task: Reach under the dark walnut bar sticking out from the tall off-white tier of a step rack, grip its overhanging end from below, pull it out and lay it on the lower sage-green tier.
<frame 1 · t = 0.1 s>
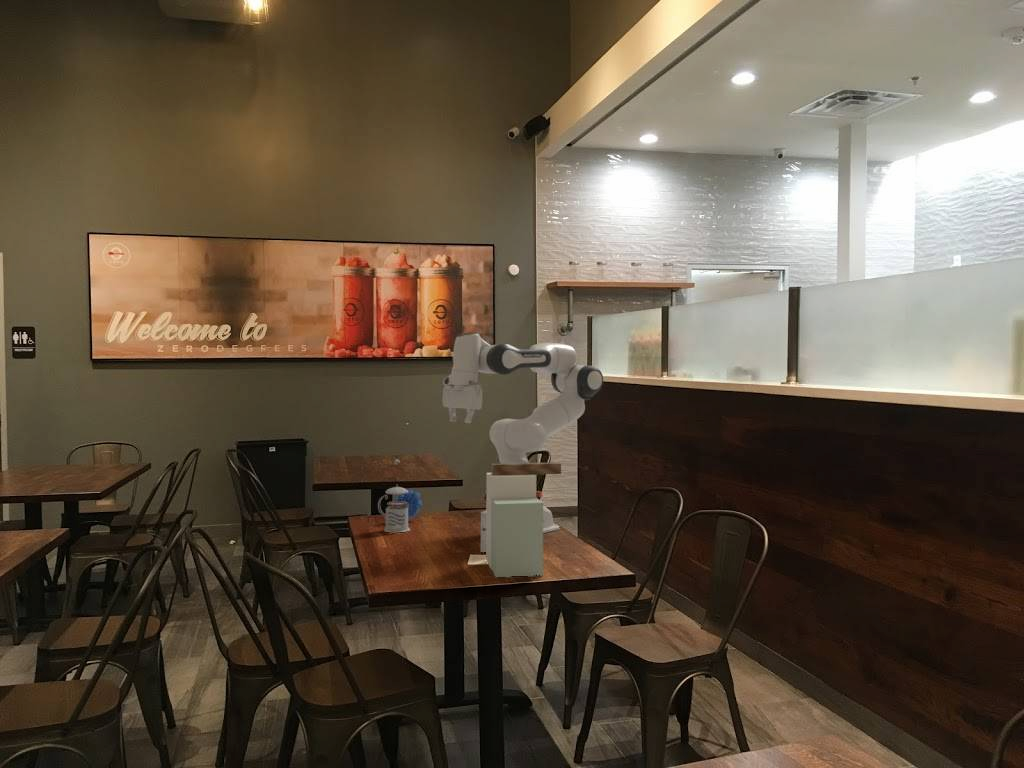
hand: (460, 422, 255), 39 cm above the table, tool pointing down, fingers open, 8 cm apart
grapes: (406, 521, 287), on the table
step rack: (513, 568, 218), on the table
french press: (394, 531, 270), on the table
supplement box: (495, 552, 239), on the table
walnut bar: (526, 474, 223), point 26 cm above the table, touching step rack
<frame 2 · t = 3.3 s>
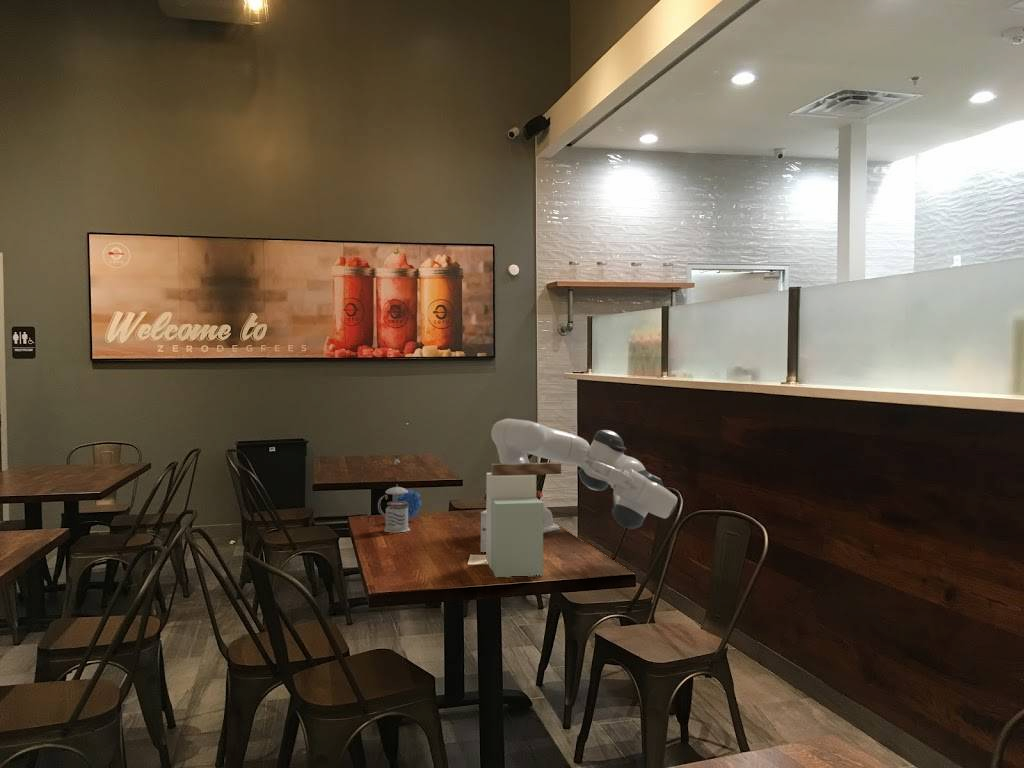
hand: (588, 462, 226), 29 cm above the table, tool pointing upward, fingers open, 8 cm apart
nothing on the table moved.
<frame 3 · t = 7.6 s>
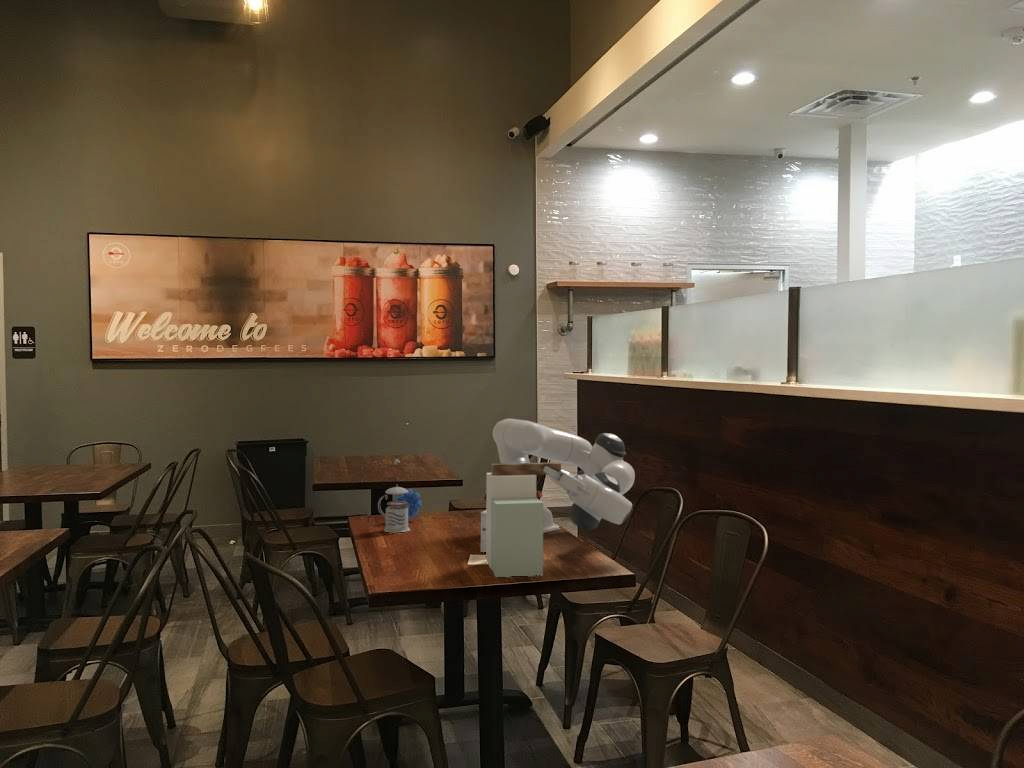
hand: (542, 467, 224), 28 cm above the table, tool pointing upward, fingers closed on walnut bar, 3 cm apart
walnut bar: (526, 473, 223), point 26 cm above the table, touching gripper
everything else where it was.
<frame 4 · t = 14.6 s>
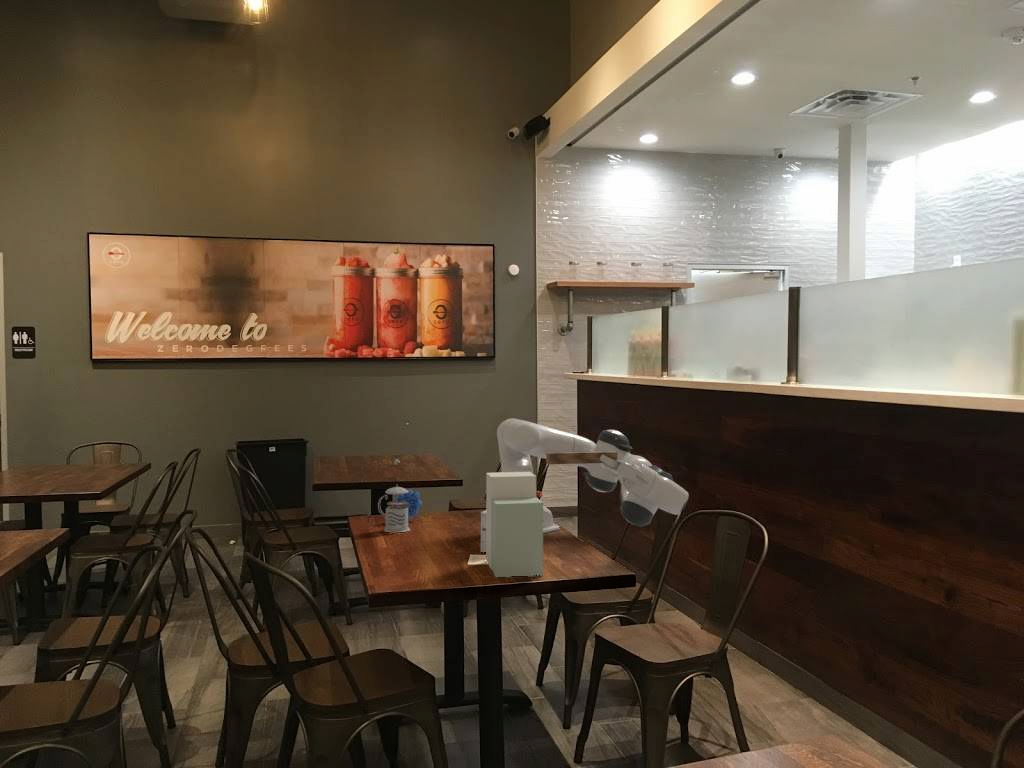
hand: (597, 455, 219), 32 cm above the table, tool pointing upward, fingers closed on walnut bar, 3 cm apart
walnut bar: (581, 462, 218), point 30 cm above the table, touching gripper
everything else where it was.
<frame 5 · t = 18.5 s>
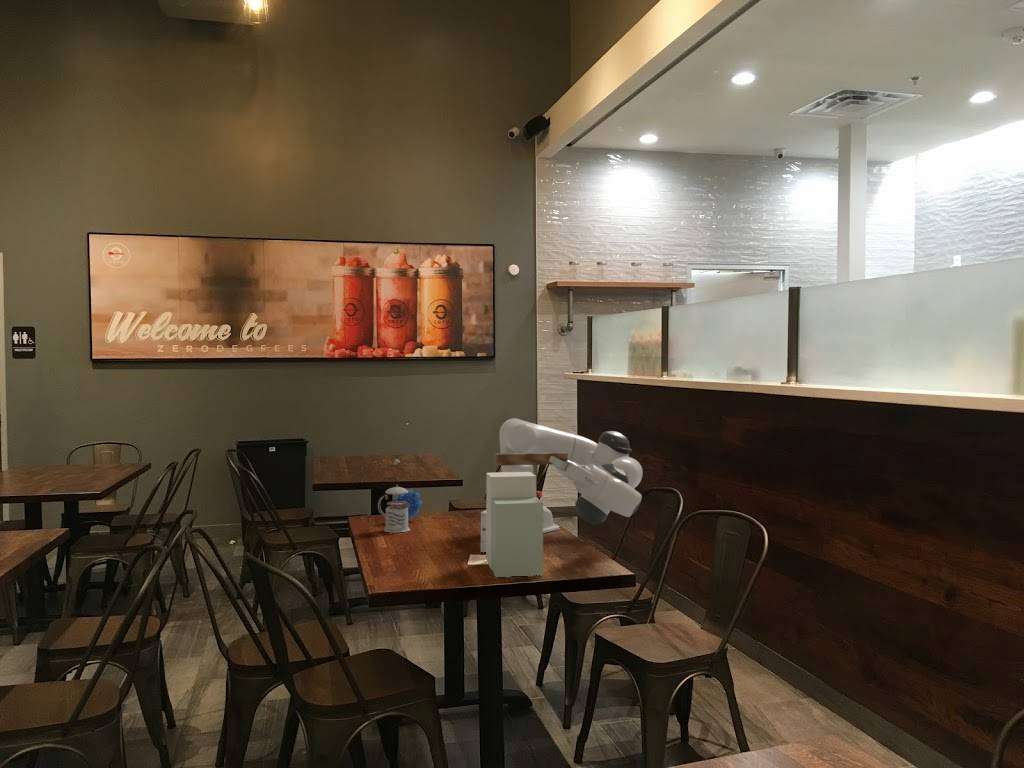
hand: (547, 456, 214), 32 cm above the table, tool pointing upward, fingers closed on walnut bar, 3 cm apart
walnut bar: (531, 464, 214), point 30 cm above the table, touching gripper
everything else where it was.
when the fingers open (23 cm above the table, at t = 22.0 s): walnut bar drops 1 cm, resting on step rack.
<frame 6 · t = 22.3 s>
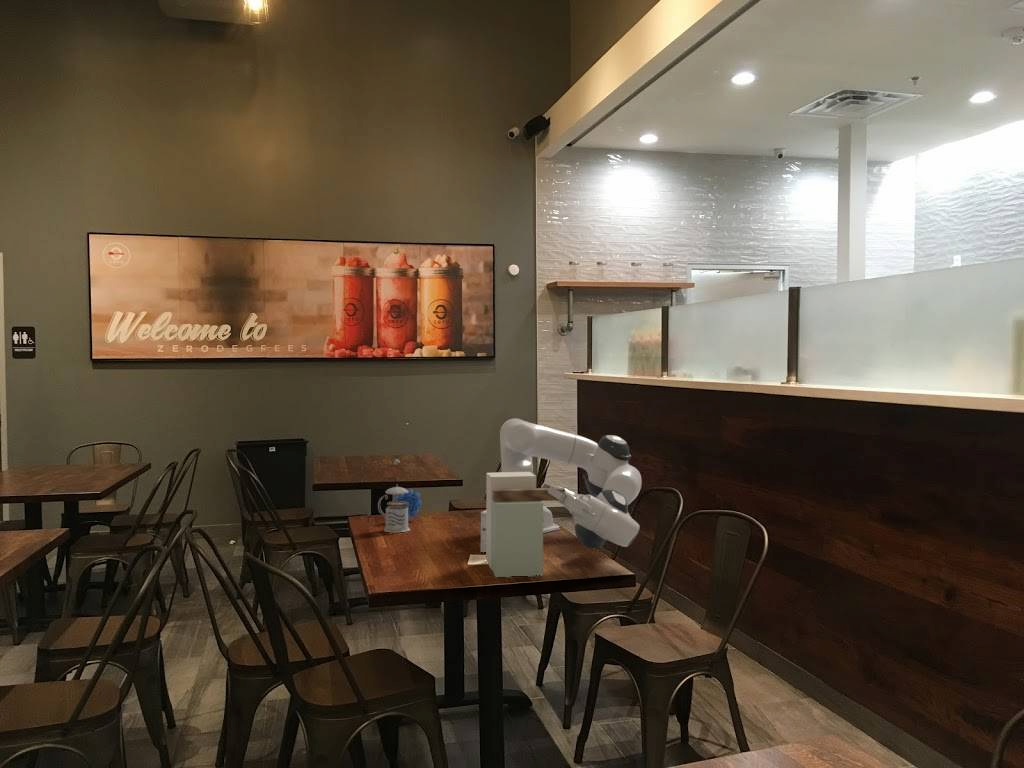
hand: (545, 487, 214), 23 cm above the table, tool pointing upward, fingers open, 6 cm apart
walnut bar: (529, 500, 214), point 20 cm above the table, touching step rack
everything else where it was.
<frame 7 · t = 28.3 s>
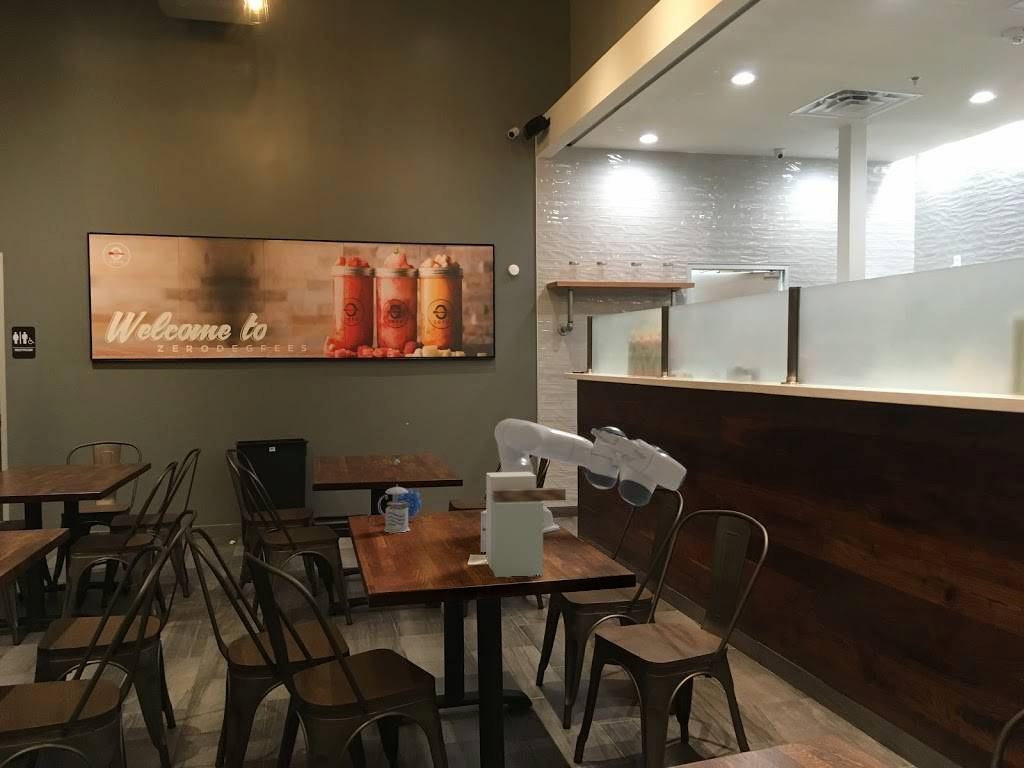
hand: (596, 431, 222), 38 cm above the table, tool pointing upward, fingers open, 8 cm apart
nothing on the table moved.
at the end: walnut bar inside the target area (0.2 cm from its centre), point 20.0 cm above the table; the gripper is holding nothing; walnut bar tilted 0° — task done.
